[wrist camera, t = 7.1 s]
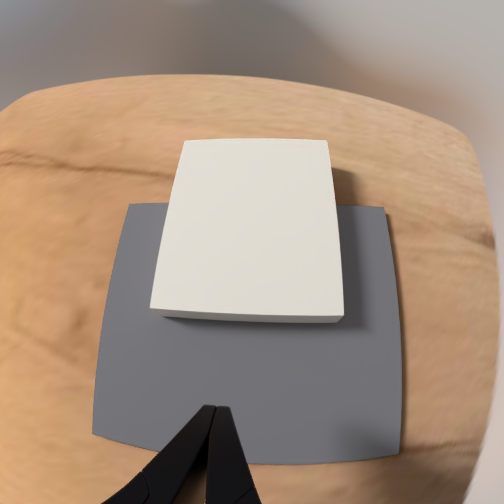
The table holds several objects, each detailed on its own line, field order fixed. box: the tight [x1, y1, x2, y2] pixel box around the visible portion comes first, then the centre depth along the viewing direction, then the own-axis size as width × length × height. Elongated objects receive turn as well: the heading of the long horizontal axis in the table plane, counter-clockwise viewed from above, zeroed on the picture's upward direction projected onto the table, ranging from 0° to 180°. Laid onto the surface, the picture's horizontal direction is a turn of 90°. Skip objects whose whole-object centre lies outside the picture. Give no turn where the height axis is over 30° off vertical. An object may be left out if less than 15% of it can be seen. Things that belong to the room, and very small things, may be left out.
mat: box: [92, 203, 402, 464], centre depth 17 cm, size 16×18×1 cm
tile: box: [150, 138, 344, 323], centre depth 18 cm, size 2×10×12 cm
